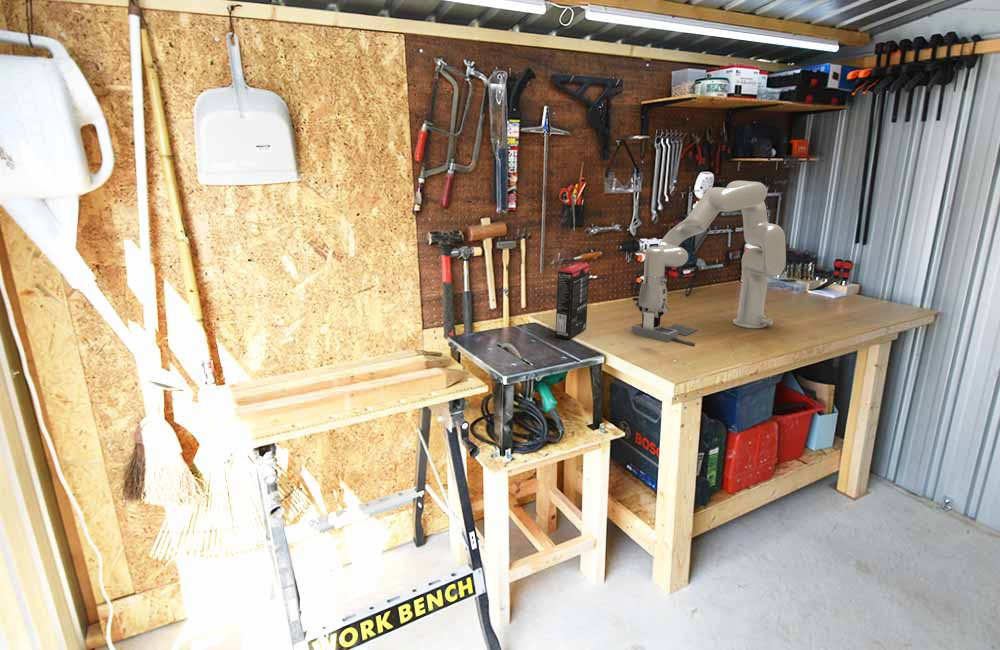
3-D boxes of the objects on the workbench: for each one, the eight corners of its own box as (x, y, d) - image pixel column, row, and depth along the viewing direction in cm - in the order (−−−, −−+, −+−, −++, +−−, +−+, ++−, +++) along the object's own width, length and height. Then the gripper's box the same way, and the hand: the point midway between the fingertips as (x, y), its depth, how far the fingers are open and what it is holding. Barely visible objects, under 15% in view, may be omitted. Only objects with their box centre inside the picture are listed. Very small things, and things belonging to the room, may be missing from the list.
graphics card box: (572, 326, 227) (574, 261, 219) (588, 328, 224) (590, 263, 215) (554, 338, 213) (555, 269, 205) (571, 341, 210) (573, 271, 201)
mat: (698, 330, 219) (698, 329, 219) (685, 336, 213) (685, 335, 213) (675, 325, 226) (675, 324, 226) (662, 330, 220) (662, 329, 220)
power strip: (699, 343, 204) (700, 334, 203) (690, 348, 200) (691, 338, 198) (641, 329, 222) (642, 320, 221) (631, 333, 217) (632, 324, 216)
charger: (659, 328, 215) (660, 311, 212) (652, 331, 212) (653, 313, 210) (649, 326, 218) (650, 308, 215) (643, 329, 215) (643, 311, 213)
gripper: (678, 281, 205) (675, 327, 211) (640, 274, 217) (637, 318, 222) (668, 284, 200) (664, 331, 206) (629, 278, 212) (627, 322, 218)
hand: (650, 324), depth 214 cm, fingers closed on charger, 4 cm apart
